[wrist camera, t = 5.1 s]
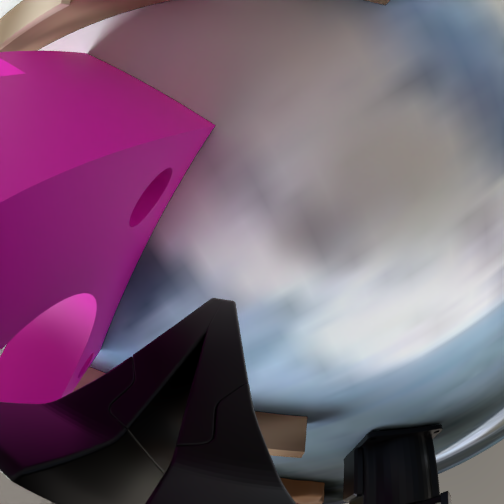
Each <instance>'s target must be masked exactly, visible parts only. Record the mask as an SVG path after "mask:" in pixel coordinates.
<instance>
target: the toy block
mask: <svg viewBox="0 0 504 504" xmlns="http://www.w3.org/2000/svg"><path fill="white" fill-rule="evenodd" d="M214 127H215V125H214V124H212V123H211V122H209V121H208V120H206V119H204V118H203V117H201V116H200V115H198V114H196V113H195V112H193V111H192V110H190V109H188V108H187V107H185V106H184V105H182V104H180V103H179V102H177V101H175V100H174V99H172V98H170V97H168V96H167V95H165V94H163V93H162V92H160V91H158V90H156V89H155V88H153V87H151V86H149V85H147V84H146V83H144V82H142V81H140V80H138V79H136V78H135V77H133V76H131V75H129V74H127V73H125V72H123V71H121V70H119V69H117V68H115V67H114V66H112V65H110V64H108V63H106V62H103V61H101V60H99V59H97V58H95V57H93V56H91V55H89V54H87V53H76V52H61V51H10V52H0V349H2V348H3V347H4V346H5V345H6V344H7V345H6V347H5V349H4V351H3V353H2V355H1V357H0V402H9V403H26V404H43V403H49V402H52V401H55V400H58V399H60V398H62V397H64V396H66V395H68V394H70V393H71V392H73V391H74V389H75V387H76V386H77V384H78V383H79V381H80V380H81V378H82V377H83V375H84V374H85V372H86V371H87V369H88V368H89V366H90V365H91V363H92V362H93V360H94V359H95V357H96V356H97V354H98V353H99V351H100V349H101V347H102V344H103V341H104V339H105V336H106V334H107V331H108V329H109V326H110V324H111V321H112V319H113V316H114V314H115V311H116V309H117V307H118V304H119V302H120V300H121V297H122V295H123V293H124V290H125V288H126V286H127V284H128V282H129V279H130V277H131V275H132V273H133V271H134V269H135V266H136V264H137V262H138V260H139V258H140V256H141V254H142V252H143V250H144V248H145V246H146V244H147V242H148V240H149V238H150V236H151V234H152V232H153V230H154V228H155V226H156V224H157V223H158V221H159V219H160V217H161V215H162V213H163V211H164V210H165V208H166V206H167V204H168V202H169V201H170V199H171V197H172V195H173V193H174V192H175V190H176V188H177V186H178V185H179V183H180V181H181V180H182V178H183V176H184V174H185V173H186V171H187V169H188V168H189V166H190V164H191V163H192V161H193V160H194V158H195V156H196V155H197V153H198V152H199V150H200V148H201V147H202V145H203V144H204V142H205V141H206V139H207V137H208V136H209V134H210V133H211V131H212V130H213V128H214Z"/></svg>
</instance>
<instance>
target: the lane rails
mask: <svg viewBox="0 0 504 504" xmlns="http://www.w3.org/2000/svg"><path fill="white" fill-rule="evenodd" d="M165 1H170V0H23V1H21V2H20V3H19V4H18V5H16V6H15V7H14V8H13V9H11V10H10V11H9V12H8V13H7V14H5V15H4V16H3V17H2V18H1V19H0V52H10V51H37V50H39V49H41V48H42V47H44V46H46V45H48V44H50V43H52V42H54V41H56V40H58V39H60V38H62V37H64V36H66V35H68V34H70V33H72V32H74V31H77V30H79V29H81V28H84V27H86V26H88V25H91V24H93V23H96V22H98V21H101V20H104V19H106V18H109V17H112V16H115V15H118V14H121V13H124V12H127V11H130V10H134V9H137V8H141V7H145V6H148V5H152V4H156V3H161V2H165ZM365 1H370V2H374V3H378V4H383V5H386V4H387V3H388V2H389V1H390V0H365ZM104 374H106V373H104V372H101V371H99V370H96V369H94V368H91V367H89V368H88V369H87V371H86V372H85V374H84V375H83V377H82V378H81V380H80V381H79V383H78V384H77V386H76V387H75V389H74V391H75V390H77V389H79V388H81V387H83V386H85V385H86V384H88V383H90V382H92V381H94V380H95V379H97V378H99V377H101V376H102V375H104ZM254 412H255V415H256V418H257V421H258V424H259V427H260V430H261V433H262V435H263V438H264V440H265V443H266V446H267V448H268V451H269V453H270V455H273V456H284V457H297V458H301V457H302V455H303V454H304V452H305V442H306V428H307V417H303V416H291V415H281V414H272V413H264V412H256V411H254Z"/></svg>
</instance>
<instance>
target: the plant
mask: <svg viewBox="0 0 504 504" xmlns="http://www.w3.org/2000/svg"><path fill="white" fill-rule="evenodd" d="M280 479H281V481H282V483H283V485H284V486H285V488H286V490H287V491H288V493H289V494H290V496H291V497H292V498H293V500H294V501H295V503H296V504H322V503H323V502H324V483H321V482H314V481H299V480H290V479H285V478H280Z"/></svg>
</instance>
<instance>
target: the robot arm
mask: <svg viewBox="0 0 504 504" xmlns="http://www.w3.org/2000/svg"><path fill="white" fill-rule="evenodd" d="M441 431H442V425H441V424H440V425H433V426H426V427H419V428H410V429H400V430H388V431H374V432H370V433H368V434H367V435H366V436H365V437H364V438H363V439H362V441H361V442H360V443H359V444H358V445H357V446H356V447H355V448H354V449H353V450H352V451H351V452H350V453H349V454H348V455H347V456H346V457H345V459H344V490H343V500H344V501H345V502H349V504H451V495H450V493H449V492H448V491H446V492H443V493H441V494H440V492H439V482H438V472H437V464H436V457H435V451H434V445H433V438H434V437H435V436H436V435H438V434H439V433H440V432H441ZM0 504H296V503H295V501H294V500H293V498H292V497H291V496H290V494H289V493H288V491H287V490H286V488H285V486H284V485H283V483H282V481H281V479H280V477H279V475H278V473H277V471H276V468H275V466H274V463H273V461H272V458H271V456H270V453H269V451H268V448H267V446H266V443H265V440H264V438H263V435H262V433H261V430H260V427H259V424H258V421H257V418H256V415H255V412H254V407H253V403H252V398H251V393H250V388H249V384H248V377H247V371H246V365H245V359H244V353H243V347H242V341H241V335H240V329H239V322H238V316H237V310H236V303H235V302H234V301H231V300H224V299H217V298H212V299H210V300H209V301H207V302H206V303H205V304H203V305H202V306H201V307H199V308H198V309H196V310H195V311H194V312H192V313H191V314H190V315H188V316H187V317H185V318H184V319H183V320H181V321H180V322H179V323H177V324H176V325H174V326H173V327H172V328H170V329H169V330H167V331H166V332H165V333H163V334H162V335H161V336H159V337H158V338H156V339H155V340H154V341H152V342H151V343H149V344H148V345H147V346H145V347H144V348H142V349H141V350H140V351H138V352H137V353H135V354H134V355H133V357H130V358H128V359H127V360H125V361H124V362H123V363H121V364H120V365H118V366H117V367H115V368H114V369H112V370H111V371H109V372H107V373H106V374H104V375H102V376H101V377H99V378H97V379H95V380H94V381H92V382H90V383H88V384H86V385H85V386H83V387H81V388H79V389H77V390H75V391H73V392H71V393H70V394H68V395H66V396H64V397H62V398H60V399H58V400H55V401H52V402H49V403H43V404H26V403H9V402H0Z"/></svg>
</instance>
